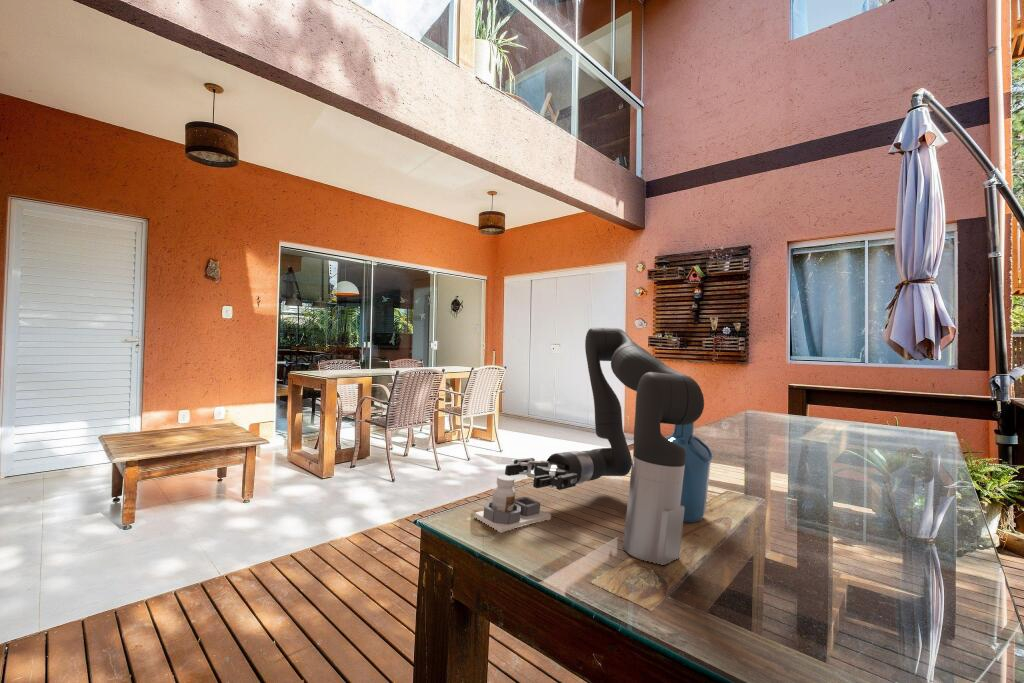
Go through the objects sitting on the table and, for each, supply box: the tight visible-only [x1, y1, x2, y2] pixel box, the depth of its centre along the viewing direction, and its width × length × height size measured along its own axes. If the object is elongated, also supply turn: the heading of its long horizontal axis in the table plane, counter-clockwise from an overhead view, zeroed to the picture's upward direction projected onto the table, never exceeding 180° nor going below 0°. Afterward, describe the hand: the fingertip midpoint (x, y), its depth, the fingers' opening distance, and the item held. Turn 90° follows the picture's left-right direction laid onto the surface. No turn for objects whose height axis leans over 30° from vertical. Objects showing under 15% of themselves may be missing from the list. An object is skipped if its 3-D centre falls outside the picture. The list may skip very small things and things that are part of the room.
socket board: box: [474, 496, 552, 534], centre depth 92 cm, size 8×14×3 cm, turn 133°
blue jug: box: [664, 422, 713, 523], centre depth 107 cm, size 14×13×30 cm
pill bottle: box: [491, 474, 516, 512], centre depth 90 cm, size 4×4×8 cm
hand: (520, 476), depth 93 cm, fingers open, 8 cm apart
